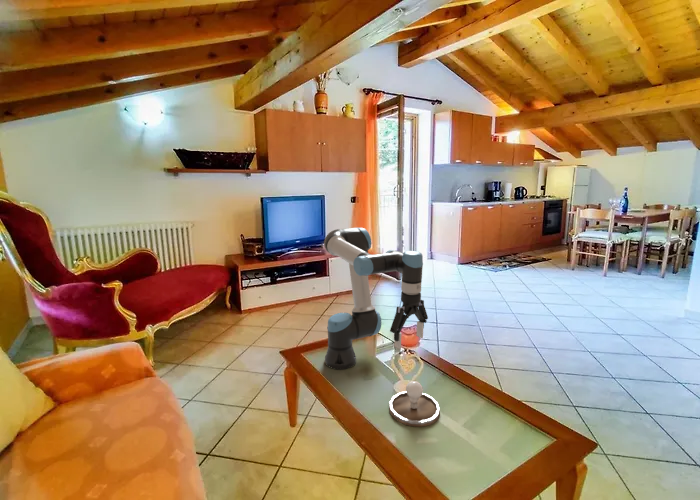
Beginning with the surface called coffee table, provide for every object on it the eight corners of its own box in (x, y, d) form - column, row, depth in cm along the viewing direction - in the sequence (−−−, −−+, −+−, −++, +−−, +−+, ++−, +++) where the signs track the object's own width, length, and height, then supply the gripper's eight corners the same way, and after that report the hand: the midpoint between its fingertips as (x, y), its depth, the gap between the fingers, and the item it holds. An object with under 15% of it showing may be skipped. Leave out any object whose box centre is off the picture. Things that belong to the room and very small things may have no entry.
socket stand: (378, 409, 137) (378, 404, 136) (409, 388, 149) (410, 385, 149) (419, 434, 123) (419, 430, 123) (449, 410, 136) (449, 406, 135)
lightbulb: (422, 414, 132) (423, 388, 130) (405, 412, 134) (405, 386, 131) (422, 403, 138) (423, 378, 136) (405, 401, 140) (406, 376, 137)
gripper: (396, 302, 125) (395, 356, 130) (438, 286, 141) (435, 335, 146) (381, 296, 130) (380, 348, 135) (423, 282, 146) (420, 329, 151)
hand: (408, 342), depth 140 cm, fingers open, 13 cm apart
